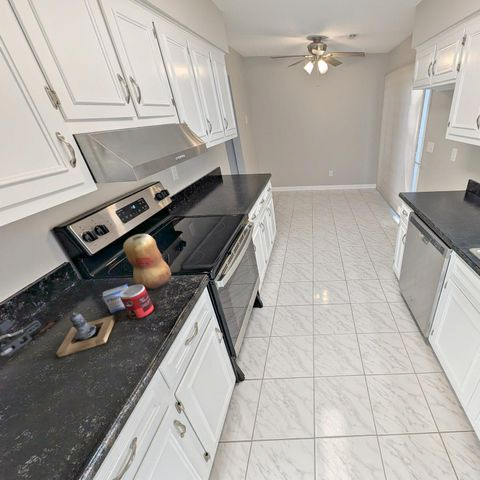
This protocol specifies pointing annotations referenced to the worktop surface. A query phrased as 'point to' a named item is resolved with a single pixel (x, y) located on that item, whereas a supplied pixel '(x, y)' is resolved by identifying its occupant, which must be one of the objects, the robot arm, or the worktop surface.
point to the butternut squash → (146, 261)
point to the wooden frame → (71, 346)
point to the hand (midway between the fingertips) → (24, 322)
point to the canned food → (136, 301)
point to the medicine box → (114, 298)
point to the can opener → (45, 328)
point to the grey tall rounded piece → (82, 327)
